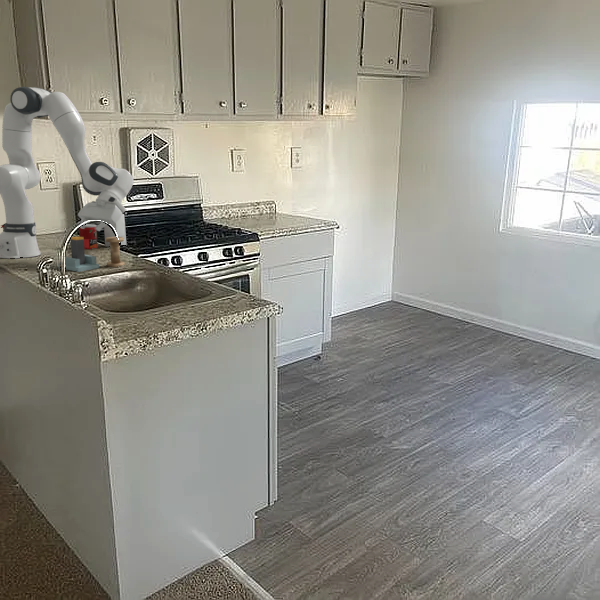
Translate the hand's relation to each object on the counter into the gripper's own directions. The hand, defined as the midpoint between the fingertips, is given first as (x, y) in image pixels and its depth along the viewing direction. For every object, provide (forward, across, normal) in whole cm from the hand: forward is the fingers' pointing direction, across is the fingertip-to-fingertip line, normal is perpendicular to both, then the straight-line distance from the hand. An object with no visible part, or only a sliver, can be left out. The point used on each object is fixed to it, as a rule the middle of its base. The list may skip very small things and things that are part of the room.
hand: (88, 229), depth 246 cm
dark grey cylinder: (+14, 0, +5) cm, 15 cm away
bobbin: (+6, +8, +15) cm, 18 cm away
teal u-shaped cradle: (+15, 0, +6) cm, 16 cm away
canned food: (-9, -36, +30) cm, 48 cm away
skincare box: (-17, -31, +39) cm, 53 cm away
